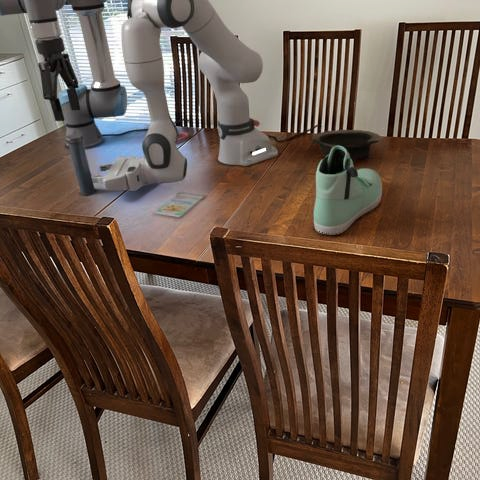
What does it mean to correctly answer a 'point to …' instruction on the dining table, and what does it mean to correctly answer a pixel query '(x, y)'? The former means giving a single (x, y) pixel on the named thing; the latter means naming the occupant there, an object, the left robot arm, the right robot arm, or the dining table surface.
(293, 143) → the dining table surface
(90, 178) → the dark grey cylinder
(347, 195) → the sneaker
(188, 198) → the baking ingredient package
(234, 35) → the right robot arm
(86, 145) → the left robot arm
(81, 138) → the lid
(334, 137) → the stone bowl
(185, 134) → the candy cane
